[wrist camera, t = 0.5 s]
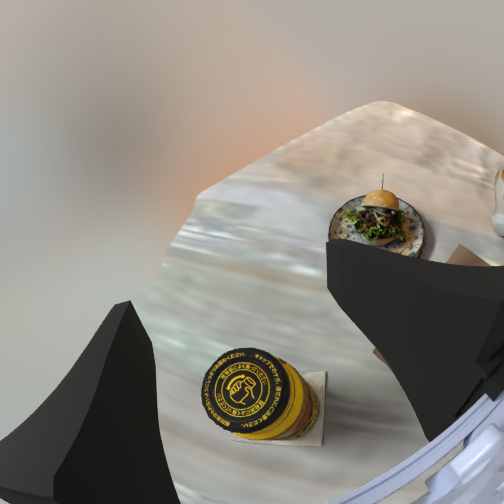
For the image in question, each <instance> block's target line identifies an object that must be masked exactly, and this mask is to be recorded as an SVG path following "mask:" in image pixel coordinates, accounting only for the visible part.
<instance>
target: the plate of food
mask: <svg viewBox="0 0 504 504" xmlns="http://www.w3.org/2000/svg"><path fill="white" fill-rule="evenodd" d="M383 175H384V174H383ZM382 189H383V181H382ZM339 238H342V239H347V240H352V241H356V242H360V243H363V244H367V245H370V246H374V247H377V248H381V249H384V250H388V251H391V252H395V253H399V254H402V255H406V256H410V257H415V258H419V255H421V254H422V253H421V252H422V247H423V246H425V241H426V234H425V227H424V224H423V221H422V219H421V217H420V215H419V214H418V212H417V211H416V210H415V209H414V208H413V207H412V206H411V205H409V204H408V203H406V202H405V201H403V200H401V199H399V198H397V197H396V196H395V195H394V194H393V193H391V192H389V191H386V190H376V191H373V192H371V193H369V194H368V195H364V196H360V197H357V198H354V199H352V200H350V201H348V202H347V203H345V204H344V205H343V206H342V207H340V208H339V209H338V210H337V211H336V213H335V214H334V216H333V218H332V220H331V222H330V225H329V233H328V239H329V241H333V240H336V239H339Z"/></svg>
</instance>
